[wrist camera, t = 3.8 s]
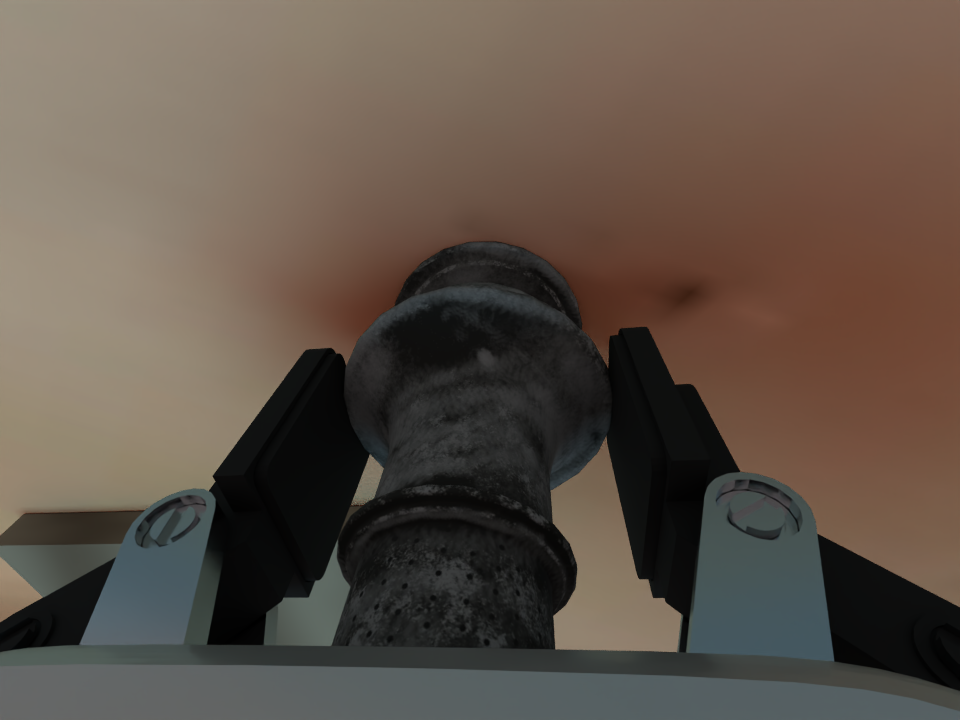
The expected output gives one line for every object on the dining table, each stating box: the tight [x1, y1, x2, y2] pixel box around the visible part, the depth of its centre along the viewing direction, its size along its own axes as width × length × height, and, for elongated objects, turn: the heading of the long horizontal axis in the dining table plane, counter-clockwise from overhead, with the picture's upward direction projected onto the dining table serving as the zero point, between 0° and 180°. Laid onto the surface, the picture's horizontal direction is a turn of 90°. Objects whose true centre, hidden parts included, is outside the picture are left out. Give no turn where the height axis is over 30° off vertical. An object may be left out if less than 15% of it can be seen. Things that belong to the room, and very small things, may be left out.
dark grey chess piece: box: [331, 242, 613, 650], centre depth 8 cm, size 6×6×12 cm
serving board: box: [0, 506, 362, 646], centre depth 21 cm, size 18×14×2 cm
